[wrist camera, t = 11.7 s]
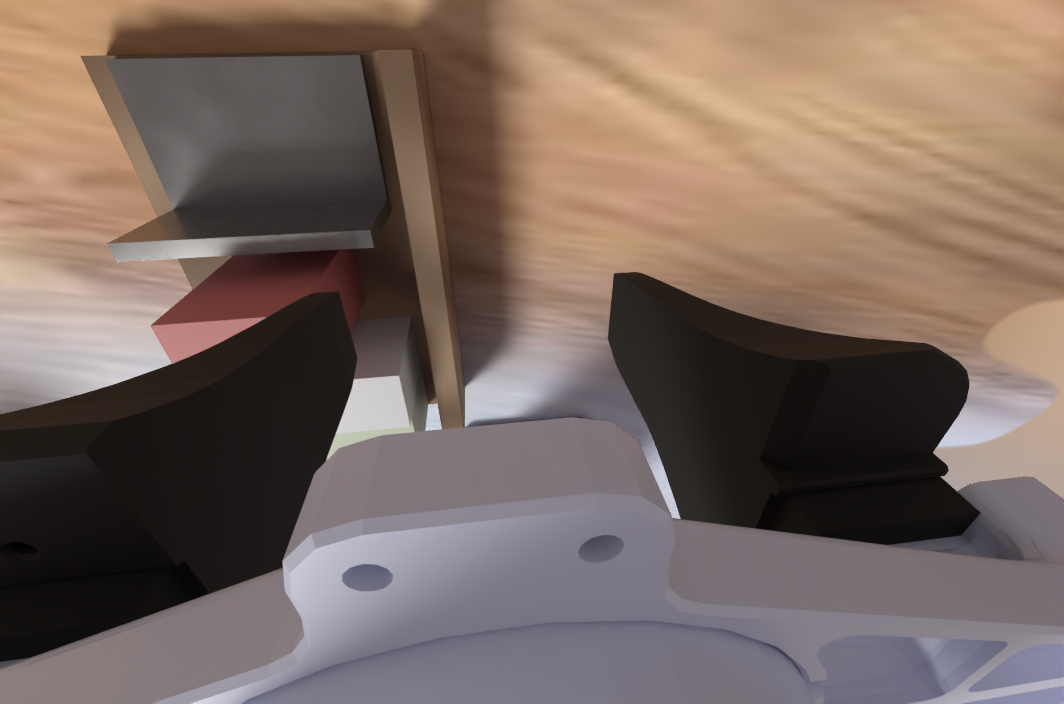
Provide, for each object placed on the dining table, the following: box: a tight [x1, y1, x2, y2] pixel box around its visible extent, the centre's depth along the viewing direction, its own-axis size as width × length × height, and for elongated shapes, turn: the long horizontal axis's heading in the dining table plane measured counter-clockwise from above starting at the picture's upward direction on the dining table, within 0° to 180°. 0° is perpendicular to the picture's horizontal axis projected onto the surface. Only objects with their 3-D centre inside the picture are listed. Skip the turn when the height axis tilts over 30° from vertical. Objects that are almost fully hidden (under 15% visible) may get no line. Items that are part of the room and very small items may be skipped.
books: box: [326, 316, 428, 461], centre depth 20 cm, size 6×8×5 cm
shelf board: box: [81, 49, 465, 429], centre depth 19 cm, size 16×11×4 cm
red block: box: [151, 249, 365, 364], centre depth 17 cm, size 3×4×7 cm
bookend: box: [105, 55, 392, 262], centre depth 15 cm, size 5×8×4 cm
